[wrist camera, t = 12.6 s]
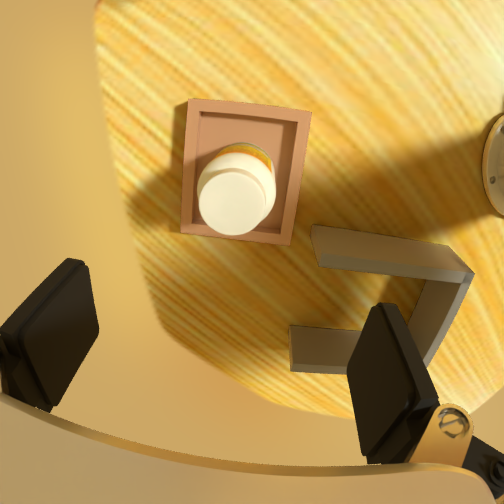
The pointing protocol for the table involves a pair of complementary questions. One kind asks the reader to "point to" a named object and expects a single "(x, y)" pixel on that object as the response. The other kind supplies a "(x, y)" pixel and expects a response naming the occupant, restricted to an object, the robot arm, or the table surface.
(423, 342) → the bay
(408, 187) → the table surface
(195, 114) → the tray
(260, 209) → the supplement bottle
